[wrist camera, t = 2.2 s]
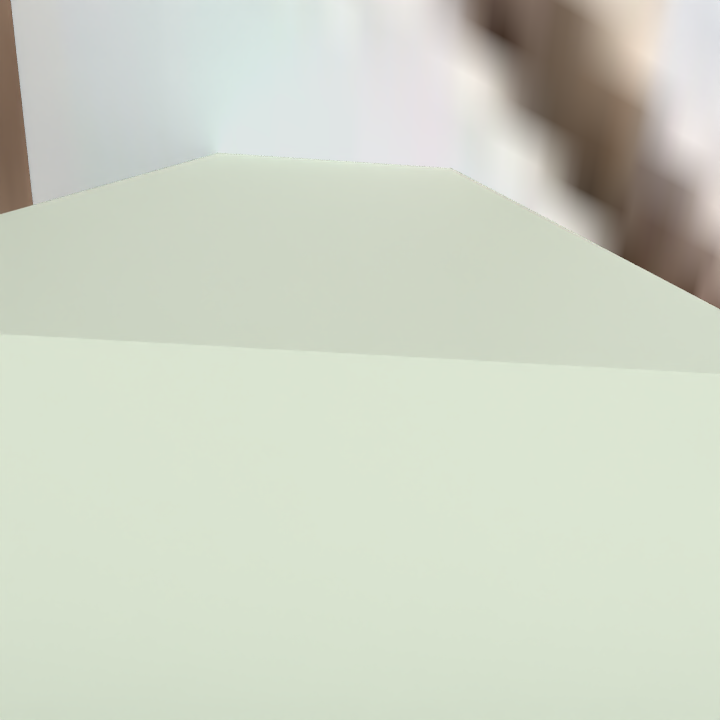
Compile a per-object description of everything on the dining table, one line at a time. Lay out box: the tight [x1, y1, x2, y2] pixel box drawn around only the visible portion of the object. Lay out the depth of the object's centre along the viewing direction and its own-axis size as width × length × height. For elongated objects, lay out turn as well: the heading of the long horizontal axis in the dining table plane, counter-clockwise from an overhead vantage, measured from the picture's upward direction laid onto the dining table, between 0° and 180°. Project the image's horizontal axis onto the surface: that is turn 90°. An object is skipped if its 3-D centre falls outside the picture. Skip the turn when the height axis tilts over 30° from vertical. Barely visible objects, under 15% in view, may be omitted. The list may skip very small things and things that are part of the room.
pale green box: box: [0, 153, 720, 720], centre depth 10 cm, size 10×5×12 cm, turn 176°
